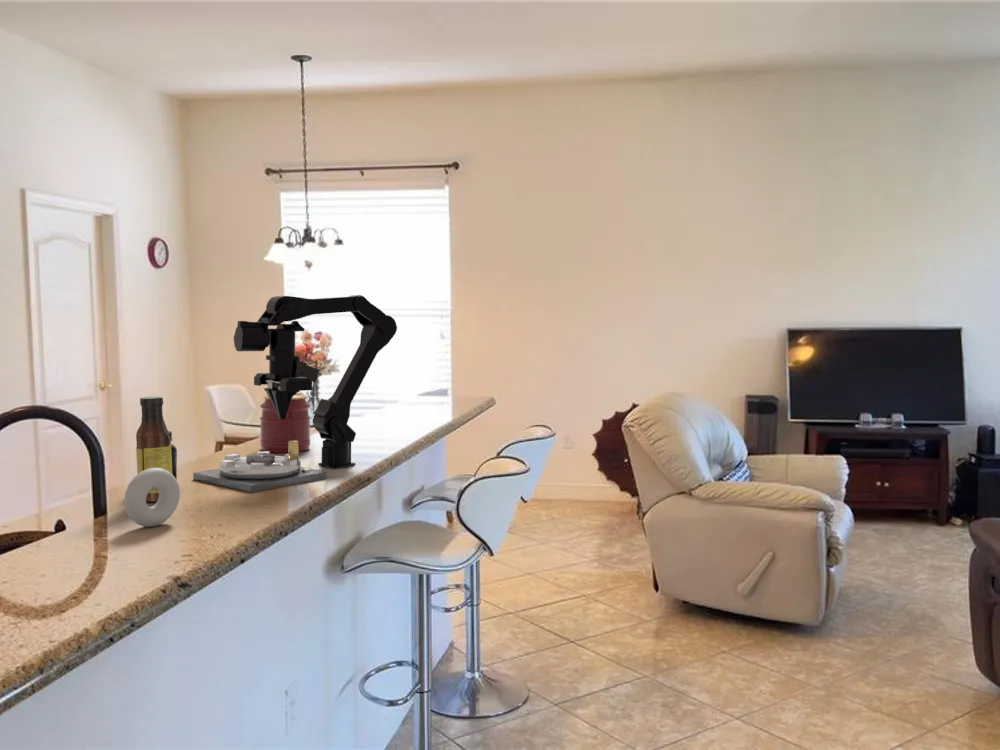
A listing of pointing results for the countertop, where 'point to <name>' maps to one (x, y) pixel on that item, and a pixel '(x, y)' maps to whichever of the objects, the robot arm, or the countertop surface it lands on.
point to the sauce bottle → (153, 441)
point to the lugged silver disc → (262, 464)
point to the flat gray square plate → (259, 480)
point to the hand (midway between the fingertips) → (282, 419)
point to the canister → (285, 425)
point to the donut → (139, 491)
